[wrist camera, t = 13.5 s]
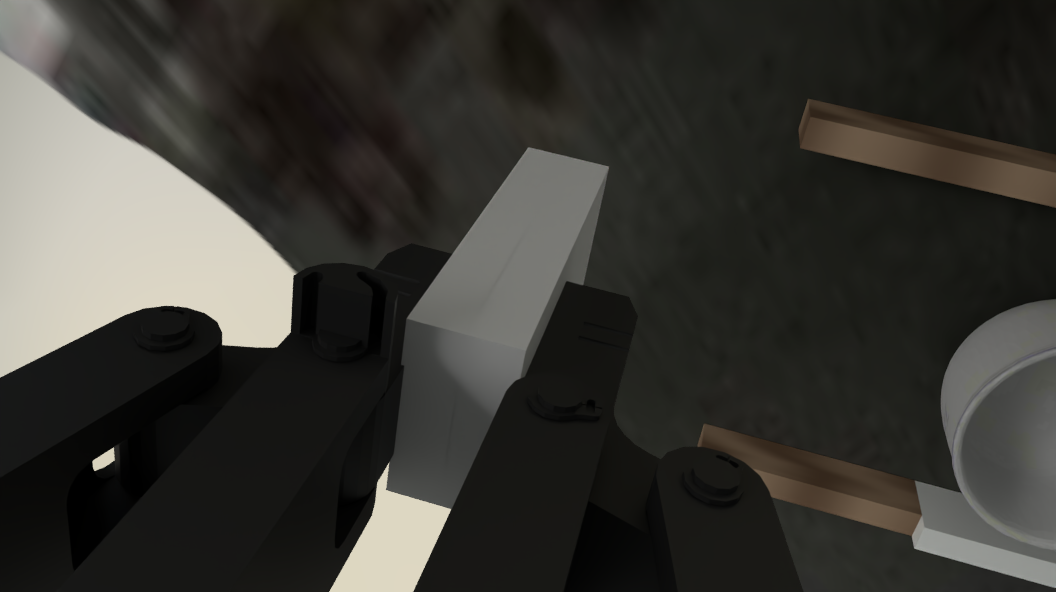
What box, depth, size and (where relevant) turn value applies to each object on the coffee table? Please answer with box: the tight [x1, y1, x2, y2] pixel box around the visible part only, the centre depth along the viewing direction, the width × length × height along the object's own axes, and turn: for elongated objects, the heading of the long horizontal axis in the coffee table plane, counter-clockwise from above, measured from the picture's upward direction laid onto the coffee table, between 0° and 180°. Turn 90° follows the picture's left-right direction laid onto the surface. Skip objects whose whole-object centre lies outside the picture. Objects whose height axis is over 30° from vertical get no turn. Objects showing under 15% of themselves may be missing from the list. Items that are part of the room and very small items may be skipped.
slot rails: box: [698, 99, 1056, 536], centre depth 48 cm, size 12×21×3 cm, turn 171°
